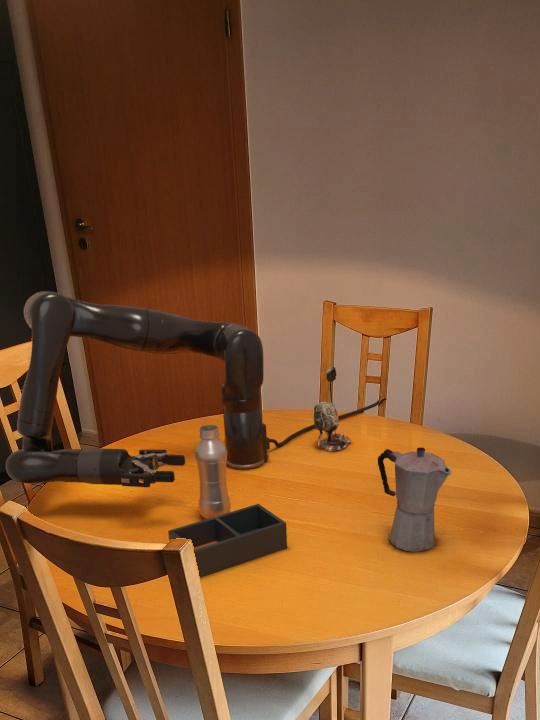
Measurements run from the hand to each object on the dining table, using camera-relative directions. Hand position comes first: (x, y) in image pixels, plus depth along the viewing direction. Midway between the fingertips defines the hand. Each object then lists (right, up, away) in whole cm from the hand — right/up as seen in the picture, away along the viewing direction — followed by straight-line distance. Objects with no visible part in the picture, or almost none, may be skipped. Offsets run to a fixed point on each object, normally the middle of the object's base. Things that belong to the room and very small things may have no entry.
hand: (179, 468), depth 163 cm
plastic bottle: (+7, -10, +4) cm, 13 cm away
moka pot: (+46, -15, -8) cm, 49 cm away
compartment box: (+11, -17, -10) cm, 22 cm away
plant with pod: (+33, +8, +38) cm, 51 cm away
